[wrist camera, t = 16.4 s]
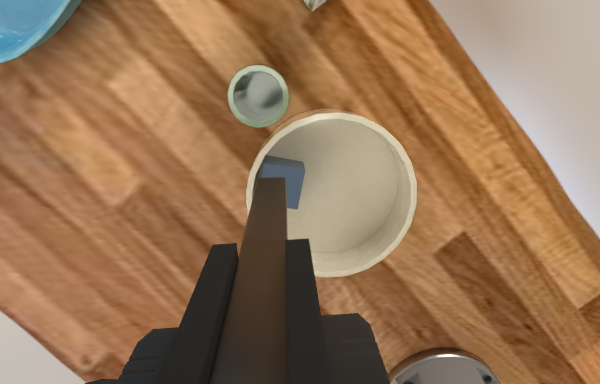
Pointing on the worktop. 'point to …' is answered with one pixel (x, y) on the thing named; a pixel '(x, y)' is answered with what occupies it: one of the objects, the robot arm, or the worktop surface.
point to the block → (287, 169)
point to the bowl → (343, 188)
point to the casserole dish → (30, 24)
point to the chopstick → (257, 296)
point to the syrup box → (313, 4)
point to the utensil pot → (258, 96)
